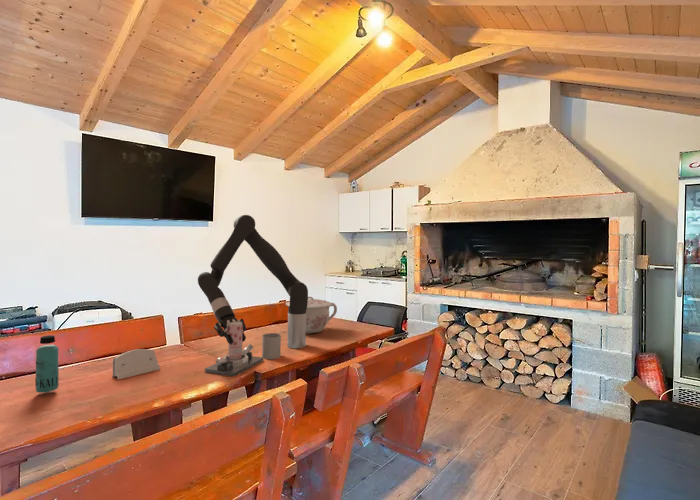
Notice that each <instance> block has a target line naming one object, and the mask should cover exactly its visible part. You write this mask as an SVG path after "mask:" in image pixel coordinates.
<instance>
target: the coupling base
mask: <svg viewBox="0 0 700 500" xmlns="http://www.w3.org/2000/svg"><path fill="white" fill-rule="evenodd" d="M253 348H254V346H253V345H252V344H250V343H249V344H248V345H247V346H246V347H245V348H244V349H242V357H241V358H240V359H236V360H232V359H229V358H228V354H227V355H224V356H222V357H218V358H217V359H216V360H215V362H216V363H214V364H212V365H209V366H207V367H205V368H204V373H207V374H214V375H220V376H227V377H232V376H235V377H236V376H238V375H241V373H243V372H246V371H248V370H249V369H251V368H252V367H255V366H257V365H258V364H261V363H263V362H264V358H263V357H261V356H256V355H253V352H252V350H253Z"/></svg>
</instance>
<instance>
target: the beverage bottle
mask: <svg viewBox="0 0 700 500" xmlns="http://www.w3.org/2000/svg"><path fill="white" fill-rule="evenodd" d="M55 342H56V337H55V335H43V336H41V337H40V340H39V343H40V344H42V345H41V346H39V347H38V348H37V349H36V350H35V353H36V354H35V379H34V380H35V383H34V384H35V391H36V392H37V393H42V394H43V393H48V392H53V391H56V390H57V389H59V381H60V379H59V349H60V348H59V347H58V345H56V344H53V343H55ZM40 344H39V345H40Z"/></svg>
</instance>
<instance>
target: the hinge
mask: <svg viewBox="0 0 700 500" xmlns="http://www.w3.org/2000/svg"><path fill="white" fill-rule="evenodd" d="M160 369H161V367H160V364H159V363H158V360H157V355H156V353H155V351H154V349H146V348H140V349H139V348H138V349H132V350H129V351H126V352H123V353H121V354H119V355H116V356H115V357H114V358H113V359H112V378H114V377H116V378H117V380H121V379H125V378H130V377H134V376H137V375H143V374H147V373H150V372H151V373H152V372H155V371H159V370H160Z"/></svg>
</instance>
